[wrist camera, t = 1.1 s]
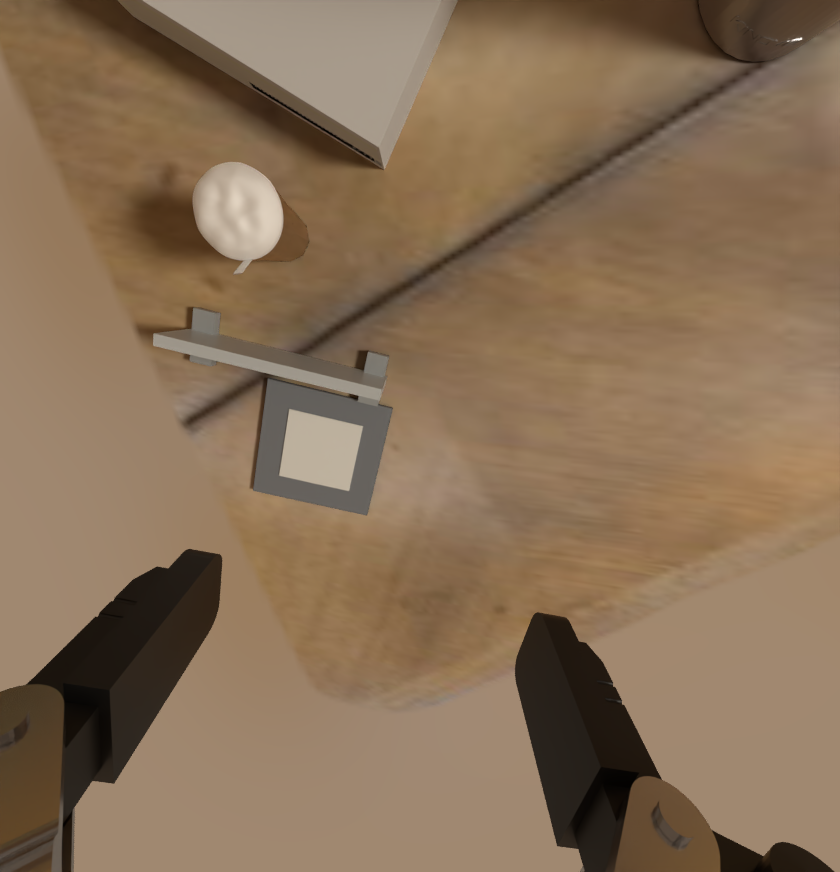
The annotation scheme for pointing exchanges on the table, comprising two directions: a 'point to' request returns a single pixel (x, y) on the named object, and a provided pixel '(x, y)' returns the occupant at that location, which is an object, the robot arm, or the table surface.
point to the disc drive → (316, 56)
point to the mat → (319, 447)
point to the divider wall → (273, 359)
